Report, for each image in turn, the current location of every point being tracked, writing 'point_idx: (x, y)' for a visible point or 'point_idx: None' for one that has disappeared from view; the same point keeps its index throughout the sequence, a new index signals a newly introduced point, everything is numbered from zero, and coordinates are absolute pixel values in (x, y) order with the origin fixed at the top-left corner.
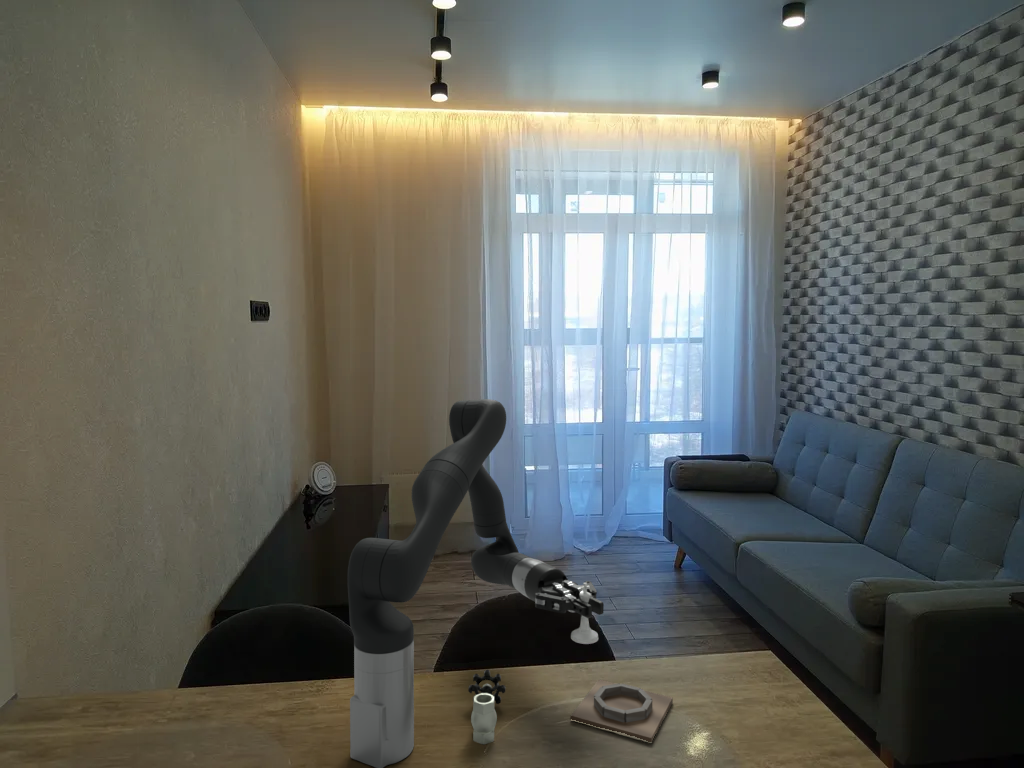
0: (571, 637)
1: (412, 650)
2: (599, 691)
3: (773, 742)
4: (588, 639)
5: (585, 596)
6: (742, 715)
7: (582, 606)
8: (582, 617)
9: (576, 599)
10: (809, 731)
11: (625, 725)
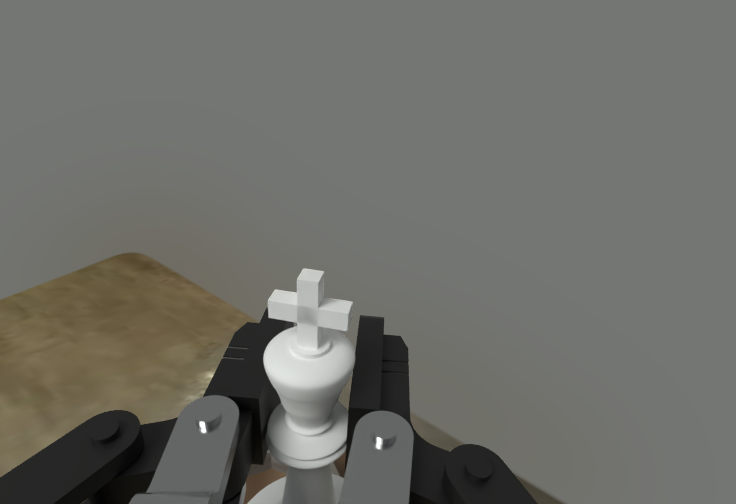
0: None
1: None
2: None
3: (167, 310)
4: None
5: (340, 333)
6: (92, 365)
7: (393, 355)
8: (331, 473)
9: (373, 407)
10: (93, 294)
11: (340, 467)
